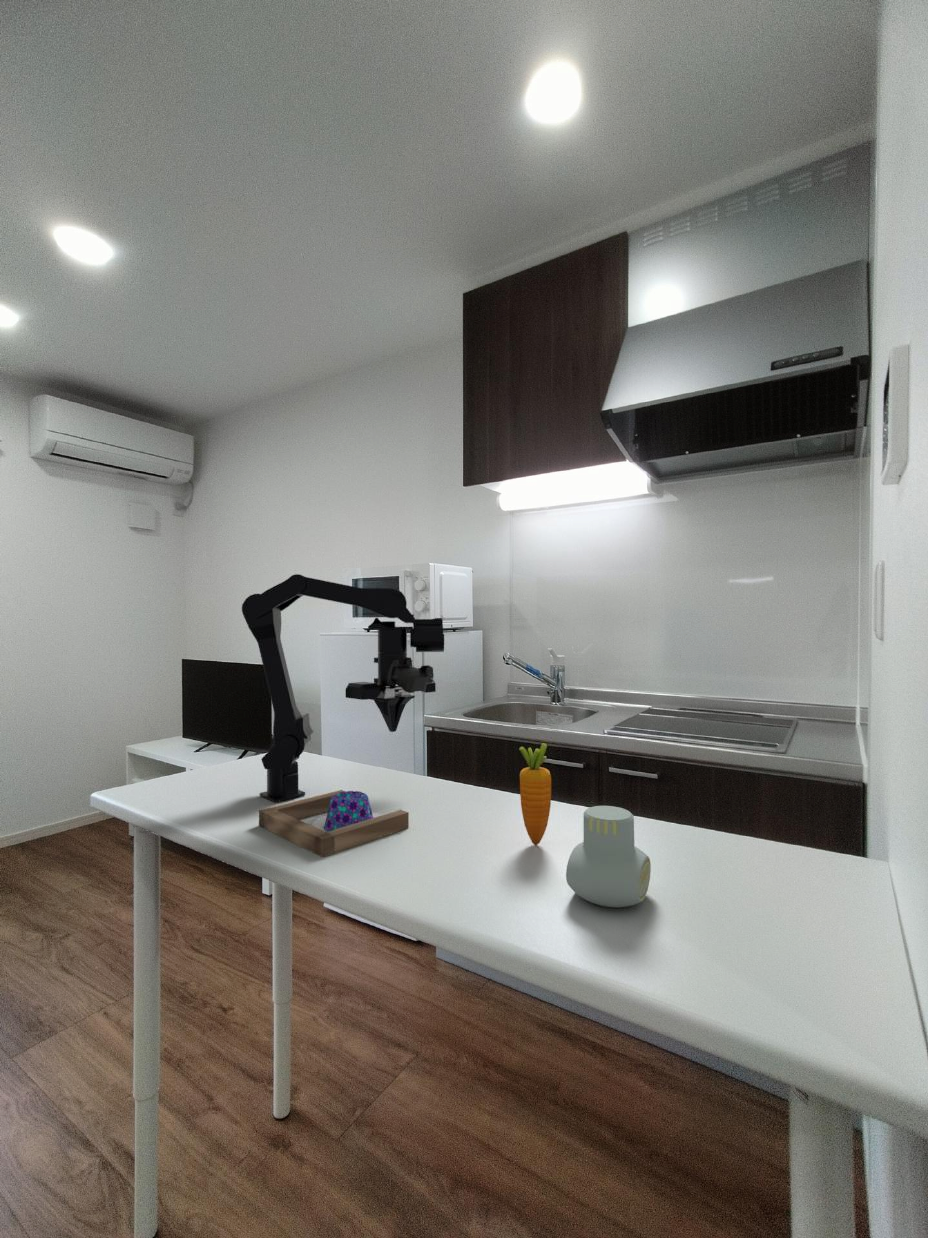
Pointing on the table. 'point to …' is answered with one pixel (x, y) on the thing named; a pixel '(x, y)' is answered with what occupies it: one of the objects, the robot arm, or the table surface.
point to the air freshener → (609, 860)
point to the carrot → (535, 793)
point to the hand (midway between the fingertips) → (392, 731)
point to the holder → (319, 841)
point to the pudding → (346, 811)
